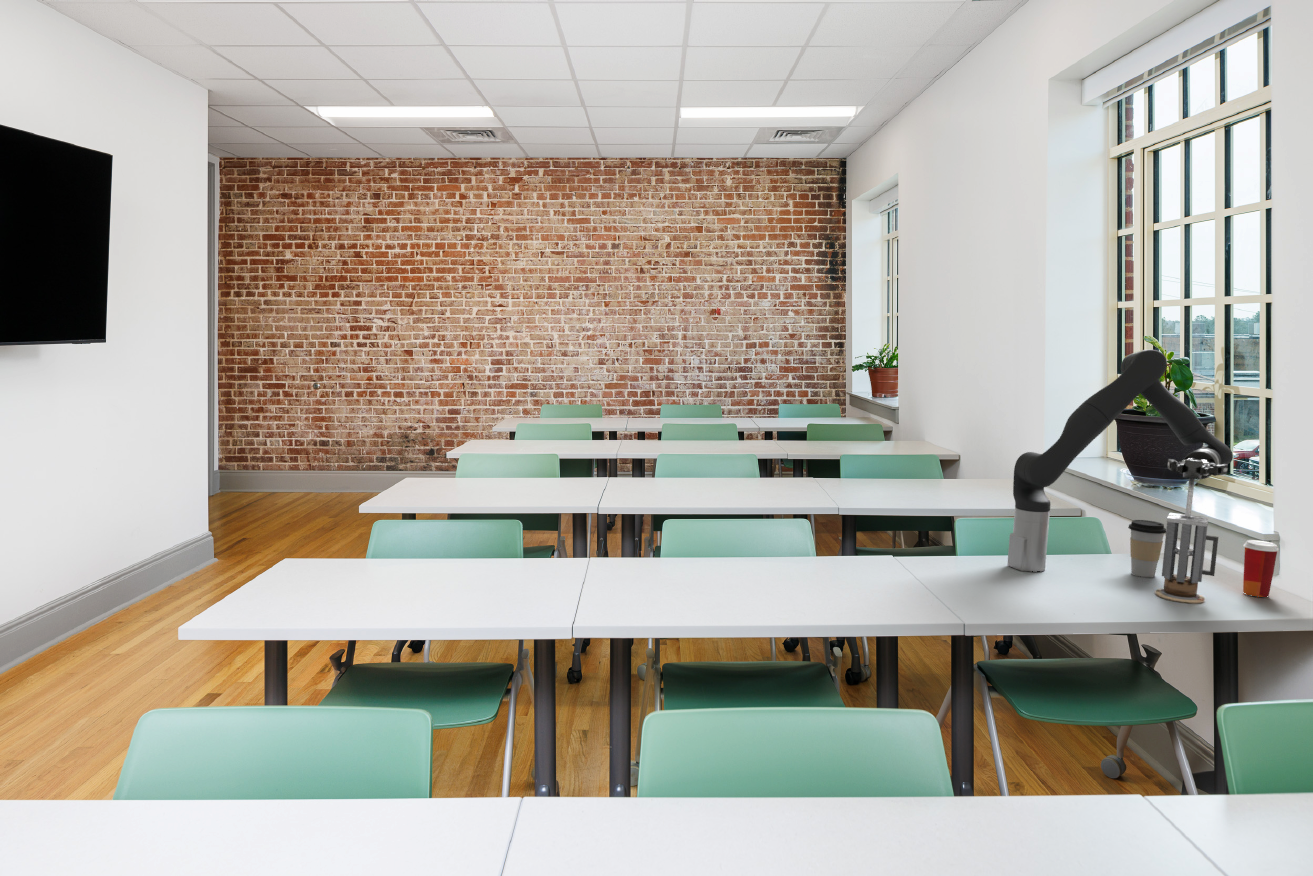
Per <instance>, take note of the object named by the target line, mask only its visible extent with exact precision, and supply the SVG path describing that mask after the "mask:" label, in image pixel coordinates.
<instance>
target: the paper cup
mask: <svg viewBox="0 0 1313 876" xmlns="http://www.w3.org/2000/svg"><path fill="white" fill-rule="evenodd" d="M1242 547H1244V557H1243V558H1244V559H1243V561H1244V562H1243V578H1242V579H1243V580H1242V581H1243V582H1242V587H1243V588H1242V593H1243V592H1244V593H1246V594H1247V595H1246V594H1245V595H1246V596H1248V595H1252V596H1257V597H1256V598H1258V596H1259V597H1267V596H1268V597H1269V596H1270V591H1271V587H1272V581H1273V577H1274V572H1275V566H1276V560H1277V555H1278V552H1279V551H1280V549H1279V548H1278V545H1277V544H1276V543H1274V542H1271V541H1270V542H1269V541H1266V540H1257V539H1248V540H1246V542H1244V543H1243V546H1242ZM1244 593H1243V594H1244ZM1252 596H1251V597H1252ZM1268 597H1267V598H1268Z"/></svg>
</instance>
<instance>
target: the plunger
mask: <svg viewBox="0 0 1313 876" xmlns="http://www.w3.org/2000/svg"><path fill="white" fill-rule="evenodd" d="M1201 466H1203V461H1200V460H1191V459H1185V462H1184V472H1183V473H1182V478H1186V479H1188V488H1187V496H1186V505H1185V518H1187V519H1191V515H1192V508H1193V500H1194V499H1193V497H1194V490H1195V480H1202V479H1201V475H1200V468H1201ZM1179 550H1180V546H1176V547H1175V552H1174V553H1175V554H1176V555H1179ZM1187 556H1189V557H1192V556H1193V548H1188V555H1187Z"/></svg>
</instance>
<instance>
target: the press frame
mask: <svg viewBox="0 0 1313 876" xmlns="http://www.w3.org/2000/svg"><path fill="white" fill-rule="evenodd" d="M1185 514H1186V513H1185ZM1185 514H1183V513H1174V512H1169V514H1168V515H1167V518H1166V528H1165V529H1166V533H1165V538H1164V539H1165V540H1164V549H1163V558H1162V559H1163V560H1162V570H1161V577H1164V582H1163V583H1164V584H1163V588H1158V589H1156V590H1155V591H1154V593H1155V596H1157V597H1159V598H1161V599H1164V600H1166V601H1170V602H1176V603H1182V604H1190V605H1191V604H1192V605H1193V604H1197V605H1198V604H1203V603H1204V602H1205V600H1206V598H1205V597H1204V596H1203V595H1201V594H1199V593H1198V588H1199V587H1198V585H1199V583H1202V581H1203V575H1205V576H1212V577H1215V573H1216V572H1215V571H1216V565H1217V556H1218V555H1217V554H1218V544H1219V536H1216V535H1207V534H1208V533H1207V532H1208V525H1209V523H1208V522H1209V517H1208V516H1200V515H1194V514H1193V515H1192V514H1191V519H1187V518H1185ZM1180 524H1181V530H1180V532H1181V533H1180V542H1179V547H1180V550H1179V554H1178V562H1177V570H1176V574H1175V564H1176V555H1177V554H1175V553H1174V552H1175V547H1178V546H1177V545H1178V535H1179V527H1180ZM1193 526H1194V527H1195V529H1194V530H1195V531H1194V538H1193V548H1192V549H1193V556H1191V567H1190V576H1188V566H1189V557H1190V556H1187V555H1188V548H1189V549H1191V548H1190V545H1191V539H1192V537H1191V536H1192V528H1193ZM1207 541H1210V542H1211V541H1212V548H1211V549H1212V551H1211V559H1210V568H1209V570H1208V569H1204V562H1205V552H1206V546H1207V545H1206V544H1207Z"/></svg>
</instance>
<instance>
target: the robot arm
mask: <svg viewBox="0 0 1313 876" xmlns="http://www.w3.org/2000/svg"><path fill="white" fill-rule="evenodd" d="M1120 363H1121V364H1120V372H1121V374H1120V375H1119V376H1118V377H1117V378H1116V379H1115V380H1113V381H1112V382H1111V383H1109V384H1108V385H1106V386H1104V387H1102V388H1101V389H1100V390H1098V391H1096V392H1095V393H1094V394H1092V395H1091V396H1089V397H1088V398H1087V399H1086V400H1085V401H1083V402H1082V403H1081V404H1080V405H1079V406H1078V407H1077V408H1076V409H1075V410H1074V411H1073V412H1072V413H1071V414H1070V415H1069V417H1067V420H1066V423H1065V425H1064V427H1063V430H1062V433H1061V435H1060V436H1059V437H1058V439H1057V440H1056V442H1054V444H1052V445H1051V446H1050V447H1049V448H1048V449H1047V450H1045V451H1044V452H1043V453H1039V452H1034V451H1027V452H1023V453H1022V454H1021V455H1019V457H1018V458H1017V459H1016V461H1015V464H1014V468H1013V469H1014V470H1013V480H1012V481H1013V483H1012V487H1013V488H1012V489H1013V490H1012V495H1013V498H1014V504H1015V505H1014V516H1013V517H1014V518H1013V525H1012V526H1013V528H1012V532H1010V534H1009V540H1008V550H1007V551H1008V553H1007V566H1008V567H1011V568H1013V569H1015V570H1018V571H1020V572H1032V571H1033V572H1034V573H1035V572H1036V573H1038V572H1037V571H1040V572H1044V571H1045V570H1046V560H1047V550H1048V539H1049V538H1048V537H1049V525H1050V516H1051V515H1050V513H1051V501H1050V499H1049V498H1048V496H1047V495H1046V493H1045V492H1046V491H1045V488H1046V487H1047V488H1048V487H1049V486H1051V485H1053V484H1054V483H1055V482H1056V481H1057V480H1058V479H1059V478H1060V477H1061V475H1062V474H1064V472H1065V471H1066V470H1067V468H1068V467H1069V466H1070V464H1071V463H1072V462H1073V461H1074V460H1075V459H1076V458H1077V457H1078V456H1079V455H1080V454H1081V453H1082V452H1083V451H1084V450H1085V449H1086V448H1087V447H1088V446H1089V445H1090V444H1091V443H1092V442H1093V441H1094V440H1095V439H1097V437H1098V436H1099V435H1101V434H1102V433H1103V432H1104V431H1105V430H1106V429H1107V428H1108V427H1110V425H1111V424H1112V423H1113V422H1114V421H1115V420H1116V418H1118V417H1119V416H1120V415H1121V413H1123V412H1124V411H1125V410H1126V408H1128V406H1129V405H1130V404H1131V403H1132V402H1133V401H1134V400H1135V399H1136V398H1137V397H1138V396H1139V395H1141V396H1142V397H1143V398H1144V399H1145V400H1146V401H1147V402H1148V403H1149V404H1150V405H1151V407H1153V408H1154V409H1155V410H1156V411H1157V412H1158V414H1159V415H1160V416H1161V418H1162V419H1163V420H1164V421H1165V422H1166V424H1167V425H1168V426H1169V428H1170V429H1171V430H1172V432H1173V433H1174V434H1175V436H1176V437H1177V438H1178V440H1179V442H1180V443H1182V444H1183V446H1191V445H1195V444H1201V443H1202V444H1205V445H1204V446H1203V447H1200V448H1198V449H1195V450H1193V451H1191V452H1190V453H1188V454H1187V455H1185V457H1184V458H1183V459H1182V460H1180V461H1177V460H1176V459H1173V458H1168V459H1167V469H1168V470H1170V471H1171V472H1178V473H1179V474H1183V472H1184V462H1185V459H1191V460H1200V461H1203V466H1201V468H1200V475H1201V479H1200V480H1205V479H1208V478H1210V477H1211V476H1214V477H1216V476H1224V475H1227V474H1228V469H1229V468H1228V465H1229V464H1231V463H1232V461H1233V458H1234V455H1233V452H1232V450H1231V448H1230V447H1229V446H1228V445H1227V444H1225V443H1224V442H1222V441H1221V440H1220V439H1218V438H1217V437H1215V435H1213V433H1211V432H1210V431H1209V430H1208V429H1207V428H1206V427H1205V426H1204V424H1203V423H1202V422H1201V421H1200V419H1199V418H1198V416H1197V415H1196V414H1195V413H1194V412H1193V410H1192V409H1191V408H1190V407H1189V406H1187V405H1186V404H1185V403H1184V402H1183V401H1181V400H1180V399H1179V398H1178V397H1177V396H1175V395H1174V394H1173V393H1172V392H1171V391H1169V390H1168V388H1167V387H1165V386H1164V384H1163V383H1162V382H1161V380H1160V379H1161V378H1162V376H1163V375H1164V374H1165V373H1166V370H1167V367H1168V361H1167V358H1166V356H1165V354H1164V353H1163V352H1161V351H1160V350H1157V349H1142V350H1140V351H1135V352H1133V353H1129V354H1128V355H1126V356H1125V357H1124V358H1123V359H1122V361H1121V362H1120Z"/></svg>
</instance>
